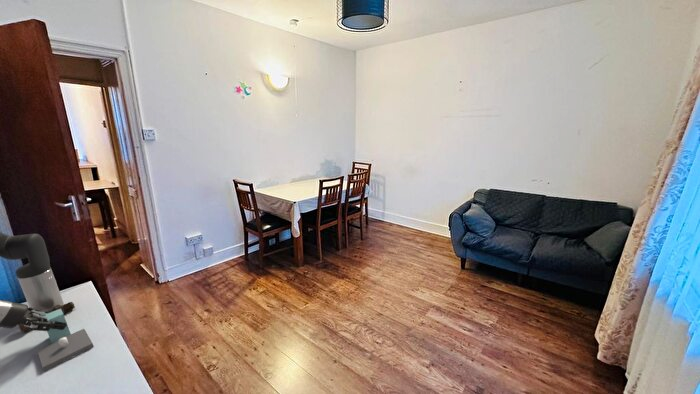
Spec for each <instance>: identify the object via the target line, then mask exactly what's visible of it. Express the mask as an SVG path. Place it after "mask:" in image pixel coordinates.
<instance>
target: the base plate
mask: <svg viewBox="0 0 700 394" xmlns="http://www.w3.org/2000/svg"><path fill="white" fill-rule="evenodd" d="M92 348H94V344H93V342H92V340H91V338H90V337H89V335H88V333H87V330H86V329H85V328H82V329H80V330H78V331H75V332H74V333H71V335H68V336H66V337H62V338H60V339H59V340H57V341H55V342H53V343H49V344H46V345H44V346H42V347H40V348H37V349H36V351H37V354H38V357H39V361H40V364H41V367H42V369H43V371H44V372H45V371H47V370H49V369H51V368H53V367H55V366H58V365H59V364H62V363H64V362H65V361H68V360H69V359H72V358H73V357H76V356H78V355H80V354H81V353H83V352H86V351H88V350H91V349H92Z"/></svg>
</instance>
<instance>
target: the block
mask: <svg viewBox="0 0 700 394" xmlns="http://www.w3.org/2000/svg"><path fill="white" fill-rule="evenodd" d="M43 317H47V318H48V320H52V321H56V322H63V323H67V326H66V327H65V329H63V330H59V329H52V328H50V330H49V331H46V332H47V334H48V338H49V340H50V342H51V343H53V342H55V341H57V340H59V339H60V338H62V337H66V336H68V335H71V334H72V333H71V332H70V328H69V326H68V322H67V320H66V318H65V317H66V316H65V313H64V314H63V312H62V310H61V309H58V310H56V311H53V312H51V313H48V314H46V315H45V316H43ZM45 326H48V325H45ZM51 343H50V344H51Z"/></svg>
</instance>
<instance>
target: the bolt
mask: <svg viewBox="0 0 700 394" xmlns="http://www.w3.org/2000/svg"><path fill="white" fill-rule="evenodd" d="M75 308H76V306H75V304H74V302H73V301H70V302H66V303H65V304H63V305H62V306H61V305H56V306H54V307H53V309H52V310H50V311H48V312H49V313H51V312H53V311H56V310H58V309H61V310H62V312H63V314H64V315H65V313H67V312H69V311H72V310H74V309H75ZM41 322H43V321H41ZM17 326H18V328H19V329H20V332H22V333H23V334H27V333H29V332H30V331H31V330H28V327H27V326H24V325H22V324H18V325H17Z"/></svg>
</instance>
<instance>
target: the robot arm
mask: <svg viewBox="0 0 700 394" xmlns="http://www.w3.org/2000/svg"><path fill="white" fill-rule="evenodd" d="M0 257H1V258H2V259H4V260H5V259H6V260H9V261H12V260H13V261H15V260H23V259H24V260H25V259H28V263H26V264H24V265H22V266H20V267H19V268H17V269H16V270H15V275H16V278H17V280H18V283H19V285H20V287H21V290H22V292H23V295H24V298H25V299H26V300H25V301H26V302H27V304H25V303H18V302H13V301H8V300H3V299H2V300H1V299H0V329H9V330H10V329H13V328H15V327H17V326H19V325H18V324H22V325H24V326H27V327H28V330H30V331H35V332H36V331H37V332H38V331H39V332H40V331H41V332H42V331H43V332H47V331H49V330H50V328H52V329H59V330H63V329H65V327H66V326H67V325H68V322H67V323H63V322H56V321H52V320H48V318H47V317H43V316H45V315H46V314H48V313H49V312H48V311H50V310H52V309H53V307H54V306H56V305H61V306H62V305H64V301H63V298H62V295H61V294H62V293H61V292H60V289H59V287H58V284H57V280H56V278H55V275H54V272H53V270H52V267H51V264H50V263H51V262H50V261H51V259H50V255H49V253H48V250H47V246H46V242H45V240H44V238H43V236H41V234H39V233H29V234H18V235H8V234H5V233H3V232H1V231H0ZM41 321H43V322H41ZM45 325H48V326H45Z"/></svg>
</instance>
